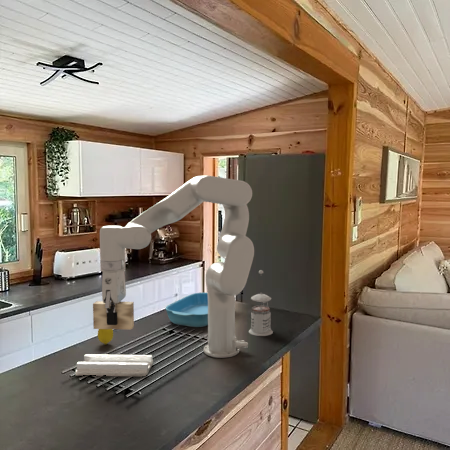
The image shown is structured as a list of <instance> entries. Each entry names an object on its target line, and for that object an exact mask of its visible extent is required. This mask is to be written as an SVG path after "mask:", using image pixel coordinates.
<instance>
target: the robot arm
mask: <svg viewBox="0 0 450 450" xmlns="http://www.w3.org/2000/svg"><path fill="white" fill-rule="evenodd" d="M252 197H253V190H252V187H251V186H250V184H249V183H248V182H246V181H244V180H240V179H233V178H226V177H219V176H214V175H207V174H206V175H197V176H194V177H192V178H191V179H189V180H188V181H186V182H185V183H184V184H183V185H182V184H181V186H180V187H178V188H177V189H176V190H175V191H173V192H172V193H171V194H169V195H168V196H166V197H165V198H163V199H162V200H160V201H159V202H156V204H154V205H153V206H151V207H149V208H148V209H147V210H145V211H143V212H142V213H140V214H139V215H138V216H136V217H135V218H133V219H132V220H131V221H129V222H128V223H127V224H126V225H125V226H121V225H115V224H114V225H104V226H101V228H100V229H99V258H100V260H99V261H100V263H99V264H100V266H99V267H100V271H101V272H102V279H101V280H102V281H101V282H102V284H101V296H102V297H101V298H102V300H101V301H103V303H105V308H106V312H107V325H117V312H116V304H118V303H119V302H122V301H123V300H124V299H125V298H126V295H127V289H126V276H125V275H126V274H125V271H126V249H129V250H130V249H132V250H141V249H144V248H146V247H148V246H149V245H150V243H151V241H152V234H153V233H154V232H155V231H156V230H158V229H160V228H163V227H164V226H167V225H170V224H173V223H176V222H178V221H180V220H182V219H183V218H184V217H186V216H187V215H188V214H189V213H191V212H192V211H193V210H194V209H196V208H197V207H198V206H200V205H202V203H212V204H219V205H222V207H223V210H224V219H223V225H222V228H221V231H220V234H219V239H218V241H217V245H216V250H217V253H218V255H219V256H220V257H221V258H223V259H224V262H223V261H217V262H214V263H211V264H210V265H209V266H208V268H207V270H206V273H205V284H206V285H205V286H206V291H207V292H206V293H207V294H208V325H207V344H206V345H204V346H203V353H204V354H205V355H206V356H209V357H211V358H219V359H221V358H222V359H224V358H231V357H234V356H236V355H238V354H239V353H240V348H243V349H248V347H249V343H248V342H246V341H245V340H238V339H237V336H236V298H235V297H236V296H238V294H241V292H242V291H243V290H244V288H245V287H246V284H247V282H248V278H249V274H250V271H251V269H252V268H251V267H252V264H253V260H254V257H255V247H254V243H253V241H252V240H251V238H249V237H248V236H247V231H248V227H249V221H250V212H249V207H248V203H249V202H251V199H252ZM112 305H113V306H112Z"/></svg>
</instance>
